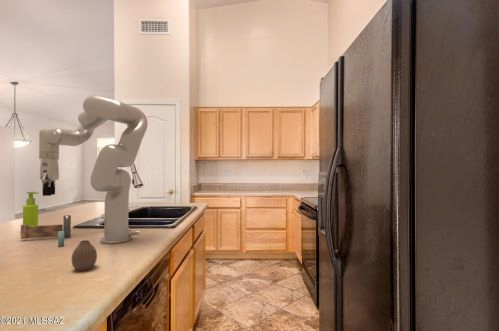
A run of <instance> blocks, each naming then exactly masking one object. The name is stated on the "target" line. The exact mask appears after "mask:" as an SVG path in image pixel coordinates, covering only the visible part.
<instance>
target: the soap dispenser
mask: <svg viewBox="0 0 499 331" xmlns="http://www.w3.org/2000/svg"><path fill="white" fill-rule="evenodd" d="M39 193H40V192H38V191H27V192H26V194H28V197H27V198H26V200H25V201H26V204H25V205H23V206H22V225H23V224H28V226H39V204H36V198H35V197H34V195H38V194H39Z"/></svg>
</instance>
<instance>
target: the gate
mask: <svg viewBox="0 0 499 331" xmlns="http://www.w3.org/2000/svg"><path fill="white" fill-rule="evenodd" d="M59 231H63V223H62V224H48V225H47V224H45V225H38V226H28V224H23V223H22V224H21V225H20V240H26V239H37V238H38V239H39V238H40V239H41V238H54V237H56V238H58V232H59Z"/></svg>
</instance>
